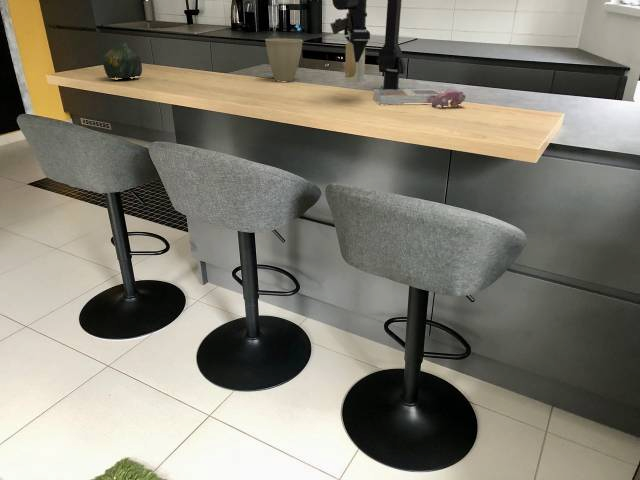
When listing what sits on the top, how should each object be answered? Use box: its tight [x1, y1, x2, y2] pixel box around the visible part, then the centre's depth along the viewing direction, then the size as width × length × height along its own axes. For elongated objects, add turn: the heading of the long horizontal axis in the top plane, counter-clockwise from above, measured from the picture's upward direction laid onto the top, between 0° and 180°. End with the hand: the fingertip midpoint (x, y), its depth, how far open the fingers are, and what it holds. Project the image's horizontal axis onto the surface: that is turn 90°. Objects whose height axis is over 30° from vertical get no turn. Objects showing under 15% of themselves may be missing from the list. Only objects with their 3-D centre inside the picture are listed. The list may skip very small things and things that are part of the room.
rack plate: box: [373, 88, 442, 105], centre depth 174 cm, size 12×22×3 cm, turn 95°
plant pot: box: [264, 38, 304, 82], centre depth 208 cm, size 15×15×16 cm
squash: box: [102, 41, 143, 79], centre depth 206 cm, size 14×15×15 cm
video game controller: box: [431, 89, 466, 107], centre depth 166 cm, size 10×5×7 cm, turn 106°
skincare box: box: [344, 42, 366, 83], centre depth 171 cm, size 6×4×12 cm
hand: (355, 60), depth 171 cm, fingers closed on skincare box, 7 cm apart
